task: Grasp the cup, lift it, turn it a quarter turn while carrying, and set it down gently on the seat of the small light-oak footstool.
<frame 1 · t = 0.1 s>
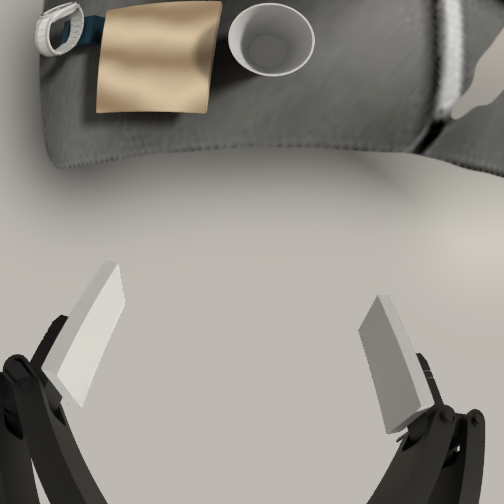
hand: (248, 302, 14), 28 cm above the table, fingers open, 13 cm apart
cup: (267, 51, 29), on the table
footstool: (166, 59, 29), on the table
watch: (88, 32, 25), on the table
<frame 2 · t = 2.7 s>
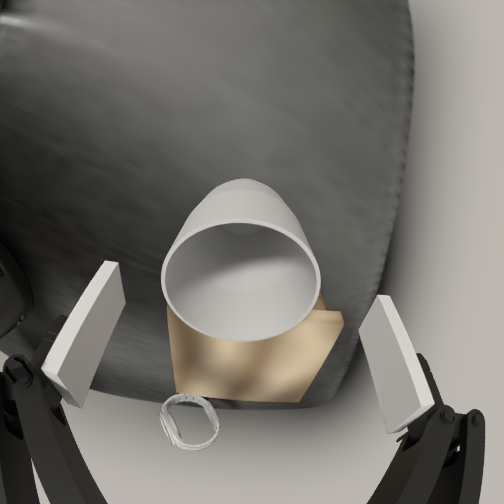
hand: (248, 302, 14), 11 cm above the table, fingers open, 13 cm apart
cup: (244, 207, 23), on the table
footstool: (247, 322, 30), on the table
watch: (194, 377, 37), on the table
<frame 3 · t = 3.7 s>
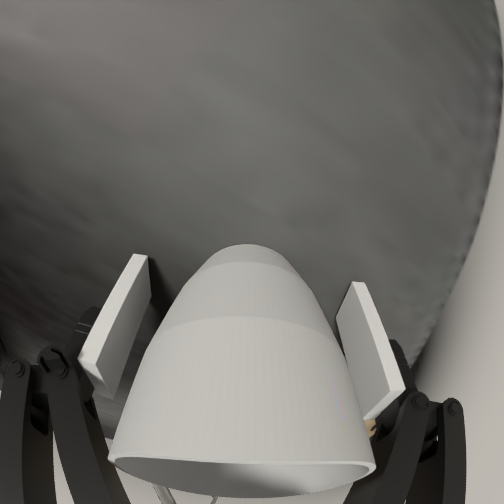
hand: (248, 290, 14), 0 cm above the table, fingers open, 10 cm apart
cup: (248, 283, 15), on the table
watch: (190, 436, 29), on the table
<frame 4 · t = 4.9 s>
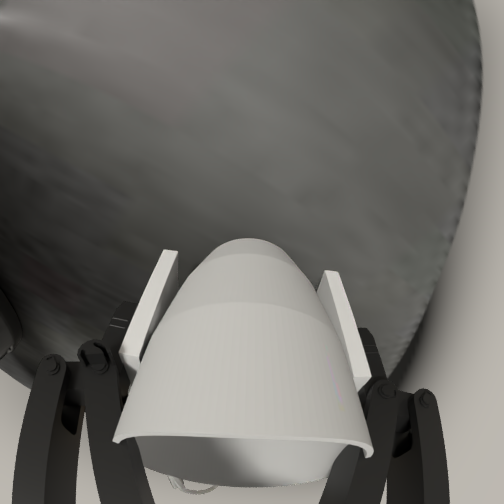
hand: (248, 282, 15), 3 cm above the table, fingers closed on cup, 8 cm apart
cup: (249, 276, 15), point 2 cm above the table, touching gripper
watch: (199, 416, 32), on the table
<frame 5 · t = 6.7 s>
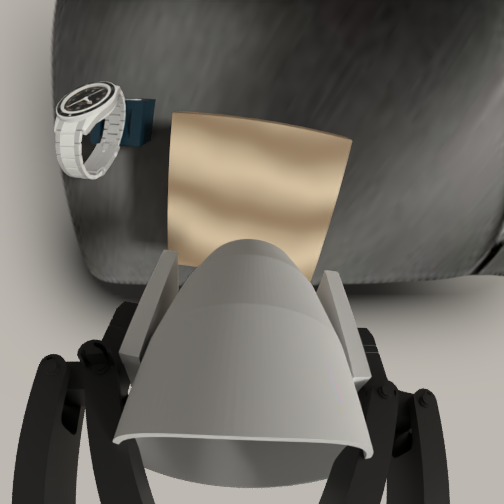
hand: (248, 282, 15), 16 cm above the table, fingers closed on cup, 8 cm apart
cup: (249, 277, 15), point 15 cm above the table, touching gripper
footstool: (251, 181, 28), on the table
watch: (129, 117, 24), on the table
when the fingers open (8 cm above the table, at t = 8.5 s): cup drops 1 cm, resting on footstool.
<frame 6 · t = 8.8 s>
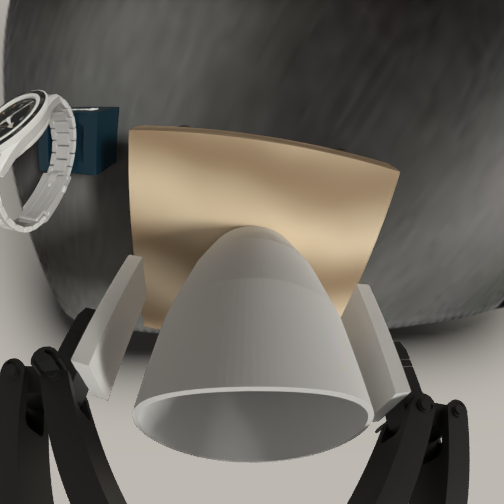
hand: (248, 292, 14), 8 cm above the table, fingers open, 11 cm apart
cup: (253, 262, 16), point 6 cm above the table, touching footstool
footstool: (251, 217, 21), on the table
watch: (88, 131, 17), on the table
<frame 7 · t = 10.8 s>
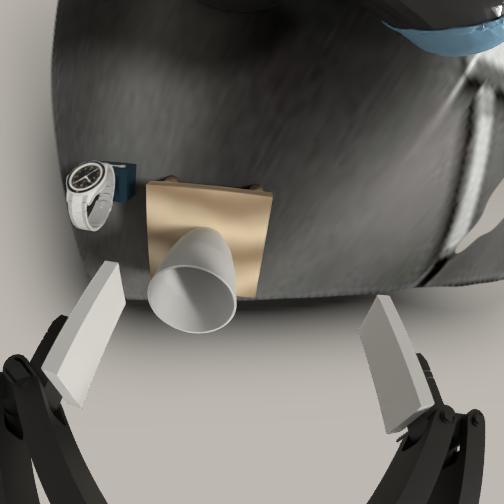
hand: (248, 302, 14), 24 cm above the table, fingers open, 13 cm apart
cup: (205, 245, 33), point 6 cm above the table, touching footstool
footstool: (210, 223, 38), on the table
watch: (118, 176, 34), on the table
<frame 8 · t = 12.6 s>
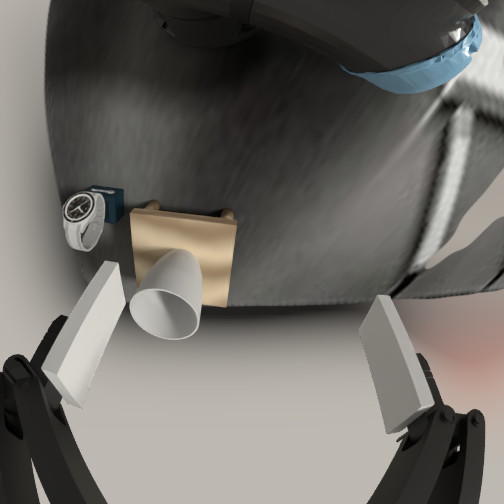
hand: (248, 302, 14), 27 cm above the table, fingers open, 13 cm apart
cup: (182, 263, 38), point 6 cm above the table, touching footstool
footstool: (189, 241, 43), on the table
watch: (108, 198, 39), on the table
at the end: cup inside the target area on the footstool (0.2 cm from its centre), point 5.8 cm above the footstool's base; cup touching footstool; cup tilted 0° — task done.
